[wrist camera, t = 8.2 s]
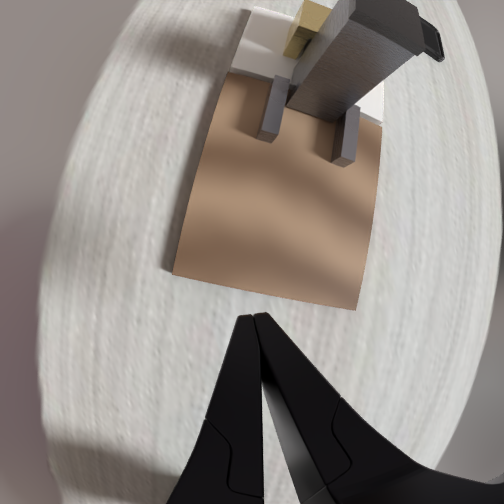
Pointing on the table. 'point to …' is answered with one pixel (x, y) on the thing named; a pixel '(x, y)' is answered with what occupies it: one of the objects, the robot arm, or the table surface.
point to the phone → (432, 41)
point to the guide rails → (344, 127)
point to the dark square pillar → (354, 55)
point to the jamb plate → (284, 57)
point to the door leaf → (279, 204)
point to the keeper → (304, 27)
